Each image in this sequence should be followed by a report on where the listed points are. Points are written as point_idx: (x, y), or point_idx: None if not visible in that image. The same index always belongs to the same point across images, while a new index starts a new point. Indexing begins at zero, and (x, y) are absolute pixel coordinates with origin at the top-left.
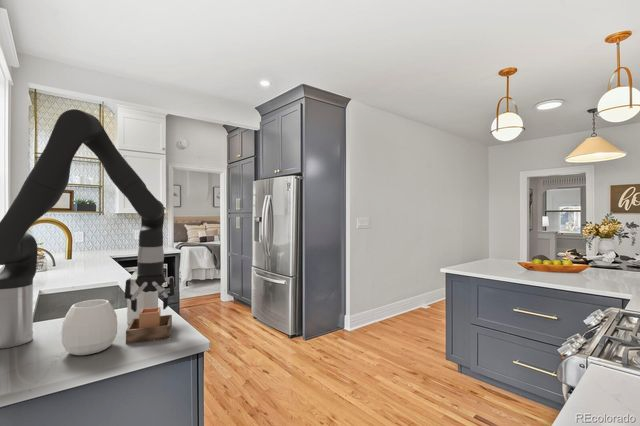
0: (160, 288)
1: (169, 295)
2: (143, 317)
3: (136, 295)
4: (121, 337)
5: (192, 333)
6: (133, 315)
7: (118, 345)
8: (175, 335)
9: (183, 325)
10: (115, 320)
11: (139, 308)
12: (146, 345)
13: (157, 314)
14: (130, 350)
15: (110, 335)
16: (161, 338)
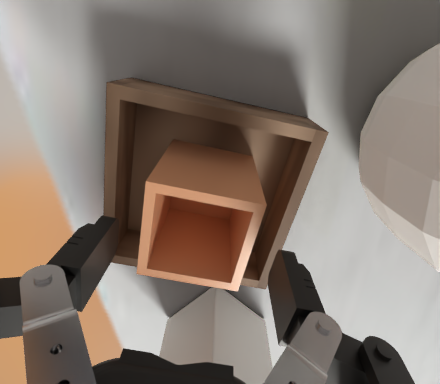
0: (40, 361)
1: (12, 283)
2: (239, 188)
3: (304, 347)
4: (306, 205)
5: (28, 90)
6: (250, 336)
7: (335, 119)
8: (105, 108)
9: (76, 214)
10: (436, 127)
11: (232, 353)
12: (234, 44)
13: (158, 175)
14: (307, 15)
15: (431, 59)
16: (165, 85)
